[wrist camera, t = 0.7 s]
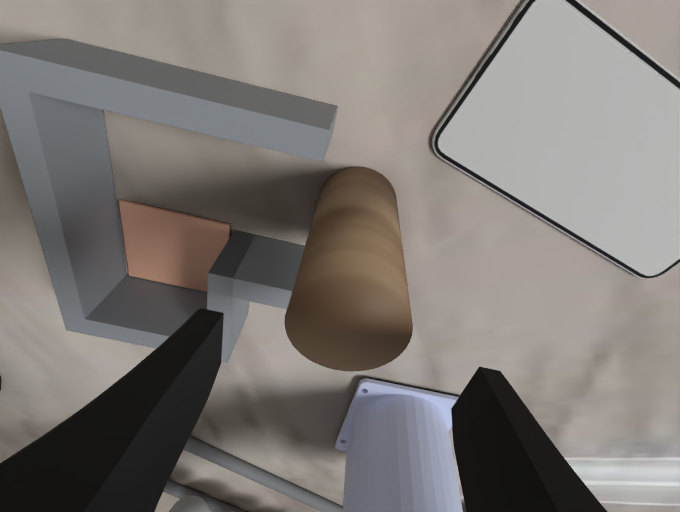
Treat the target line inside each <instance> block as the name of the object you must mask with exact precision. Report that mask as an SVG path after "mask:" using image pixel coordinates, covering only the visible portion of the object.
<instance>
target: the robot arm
mask: <svg viewBox="0 0 680 512" xmlns="http://www.w3.org/2000/svg"><path fill="white" fill-rule="evenodd" d="M223 319H224V313H222V312H217V311H212V310H208V309H203V308H201V309H199V310H197V311H196V312H195V313H194V314H193V315H192V316H191V317H190V318H189V319H188V320H187V321H186V322H185V323H184V324H183V325H182V326H181V327H180V328H178V329H177V330H176V331H175V332H174V333H173V334H172V335H171V336H170V337H169V338H168V339H167V340H165V341H164V342H163V343H162V344H161V345H160V346H159V347H158V348H157V349H155V350H154V351H153V352H152V353H151V354H150V355H148V356H147V357H146V358H145V359H144V360H143V361H141V362H140V363H139V364H138V365H137V366H136V367H134V368H133V369H132V370H131V371H130V372H128V373H127V374H126V375H125V376H123V377H122V378H121V379H120V380H118V381H117V382H116V383H114V384H113V385H112V386H111V387H109V388H108V389H107V390H106V391H104V392H103V393H102V394H100V395H99V396H98V397H97V398H95V399H94V400H93V401H91V402H90V403H89V404H87V405H86V406H85V407H83V408H82V409H80V410H79V411H78V412H76V413H75V414H73V415H72V416H71V417H69V418H68V419H66V420H65V421H64V422H62V423H61V424H59V425H58V426H56V427H55V428H53V429H52V430H51V431H49V432H48V433H46V434H45V435H43V436H42V437H40V438H39V439H37V440H36V441H34V442H32V443H31V444H29V445H28V446H26V447H25V448H23V449H22V450H20V451H19V452H17V453H15V454H14V455H12V456H11V457H9V458H8V459H6V460H5V461H3V462H1V463H0V512H154V511H155V509H156V506H157V504H158V501H159V499H160V497H161V495H162V492H163V490H164V488H165V486H166V484H167V481H168V479H169V477H170V475H171V473H172V471H173V469H174V467H175V465H176V463H177V461H178V459H179V457H180V455H181V453H182V451H183V449H184V447H185V445H186V443H187V441H188V439H189V437H190V434H191V432H192V430H193V428H194V426H195V424H196V422H197V420H198V418H199V416H200V414H201V412H202V410H203V408H204V406H205V404H206V402H207V399H208V397H209V395H210V392H211V389H212V387H213V384H214V381H215V378H216V376H217V373H218V370H219V367H220V364H221V357H222V338H223ZM451 427H452V430H453V442H454V449H455V455H456V460H457V466H458V471H459V476H460V481H461V486H462V491H463V496H464V501H465V506H466V511H467V512H607V511H606V510H605V508H604V507H603V506H602V505H601V504H600V503H599V501H598V500H597V499H596V498H595V496H594V495H593V494H592V493H591V491H590V490H589V489H588V488H587V487H586V485H585V484H584V483H583V482H582V480H581V479H580V478H579V477H578V475H577V474H576V473H575V472H574V470H573V469H572V468H571V466H570V465H569V464H568V463H567V461H566V460H565V459H564V457H563V456H562V455H561V453H560V452H559V451H558V450H557V448H556V447H555V446H554V444H553V443H552V441H551V440H550V439H549V437H548V436H547V435H546V433H545V432H544V431H543V429H542V428H541V427H540V425H539V424H538V422H537V421H536V420H535V418H534V417H533V415H532V414H531V413H530V411H529V410H528V409H527V407H526V406H525V404H524V403H523V402H522V400H521V399H520V397H519V396H518V395H517V393H516V392H515V390H514V389H513V388H512V386H511V385H510V384H509V382H508V381H507V379H506V378H505V377H504V375H503V374H502V373H501V372H500V371H497V370H493V369H488V368H483V367H479V368H478V370H477V371H476V372H475V374H474V375H473V377H472V378H471V380H470V381H469V383H468V384H467V386H466V387H465V389H464V390H463V392H462V393H461V395H460V396H459V397H457V396H452V395H447V394H442V393H437V392H432V391H427V390H422V389H417V388H412V387H407V386H403V385H398V384H393V383H388V382H383V381H378V380H373V379H368V378H364V379H362V380H360V382H359V385H358V387H357V390H356V392H355V395H354V397H353V400H352V402H351V405H350V407H349V410H348V412H347V415H346V417H345V420H344V422H343V425H342V427H341V430H340V432H339V435H338V438H337V440H336V443H335V448H336V449H337V450H340V451H345V452H346V465H345V481H344V498H343V512H463V509H462V504H461V498H460V493H459V487H458V482H457V476H456V471H455V465H454V460H453V454H452V449H451V443H450V438H449V430H450V429H451Z"/></svg>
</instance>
